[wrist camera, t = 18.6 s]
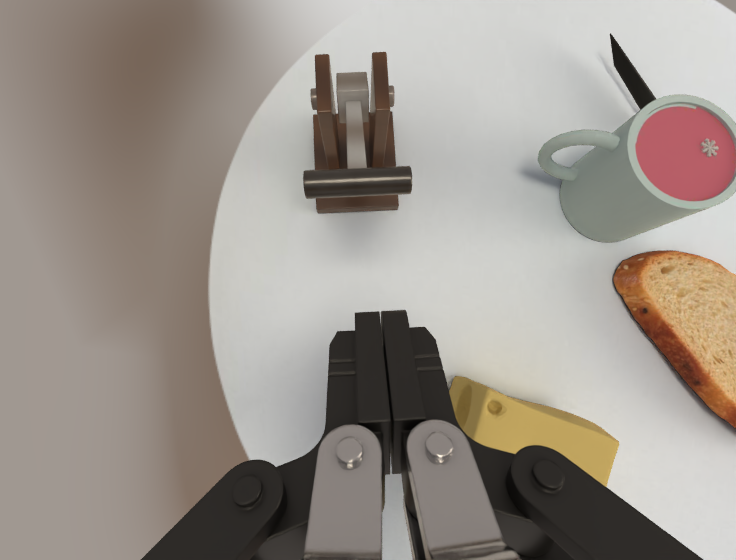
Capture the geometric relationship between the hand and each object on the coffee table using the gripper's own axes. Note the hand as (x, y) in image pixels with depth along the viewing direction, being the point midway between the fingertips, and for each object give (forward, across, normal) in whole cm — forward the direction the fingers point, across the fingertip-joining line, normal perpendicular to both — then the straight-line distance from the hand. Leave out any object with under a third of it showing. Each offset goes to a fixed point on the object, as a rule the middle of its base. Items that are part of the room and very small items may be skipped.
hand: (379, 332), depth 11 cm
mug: (+28, -23, +8) cm, 37 cm away
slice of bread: (+16, -33, +20) cm, 42 cm away
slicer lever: (+18, 0, 0) cm, 18 cm away
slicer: (+30, 0, +6) cm, 31 cm away
